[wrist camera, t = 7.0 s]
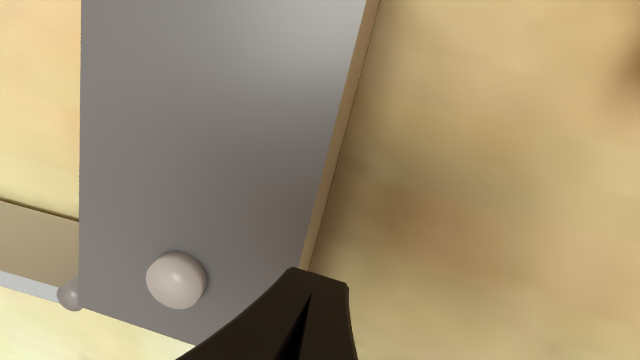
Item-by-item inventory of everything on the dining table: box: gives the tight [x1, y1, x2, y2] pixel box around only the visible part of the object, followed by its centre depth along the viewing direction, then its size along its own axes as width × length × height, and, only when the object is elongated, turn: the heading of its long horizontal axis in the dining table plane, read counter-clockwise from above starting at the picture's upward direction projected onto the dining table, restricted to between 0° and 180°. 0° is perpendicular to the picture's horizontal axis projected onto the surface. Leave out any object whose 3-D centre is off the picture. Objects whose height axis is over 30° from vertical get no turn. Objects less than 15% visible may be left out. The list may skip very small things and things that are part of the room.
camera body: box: [78, 0, 380, 346], centre depth 16 cm, size 15×8×6 cm, turn 167°
